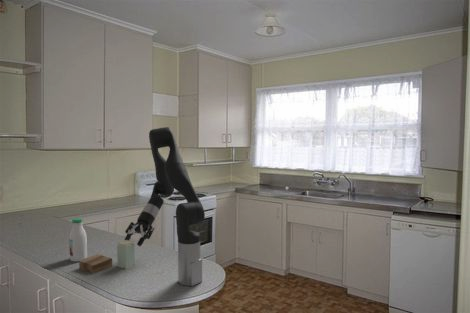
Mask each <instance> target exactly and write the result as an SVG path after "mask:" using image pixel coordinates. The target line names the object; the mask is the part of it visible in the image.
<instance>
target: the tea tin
mask: <svg viewBox="0 0 470 313" xmlns="http://www.w3.org/2000/svg"><path fill="white" fill-rule="evenodd" d="M135 250H136V249H135V241H133V240H120V241H119V242H117V246H116V255H117V260H116V261H117V267H119V268H122V269H124V270H125V269H129V268H131V267H133V266H135V264H136V258H135Z"/></svg>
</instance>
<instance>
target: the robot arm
mask: <svg viewBox="0 0 470 313" xmlns="http://www.w3.org/2000/svg"><path fill="white" fill-rule="evenodd" d="M148 139H149V140H148V141H149V144H150V151H151V154H152V155H151V156H152V158H153V162H154V168H155V178H156V182H155V183H154V184H153V188H152V192H151V195H150V198H149V200H148V202H146V205H145V206H144V207H143V209H142V211H141V212H140V213H139V216H138V218H137V221H136V222H133V221H131V222H130V223H129V225H128V226H127V228H126V229H125V231H124V233H125V234H126V235H125V237H124V240H129V241H131V238H132V236H134V235H137V234H138V235H139V234H140V235H141V237H140V238H139V240H138V241H137V243H136V245H137V246H138V247H141V246H142V245H143V244H144V242H145V240H149V239H151V237H152V234H153V232H154V231H155V228H154V227H153V223H154V222H155V220H156V218H157V217H158V215H159V213H160V210H161V209H162V206H163V204H164V202H165V201H164V198H162V197H161V196H165V197H172V196H173V194H174V192H175V190H176V191H177V192H178V193H179V194H181V196H182V197H184V199H185V200H186V202H182V203H179V204H177V206H176V209H175V223H176V235H177V270H178V272H177V273H178V274H177V276H178V278H177V279H178V280H177V281H178V284H180V285H181V286H187V287H189V286H190V287H194V286H196V285H198V284H199V283H202V282H203V259H202V258H201V234H200V233H199V232H197V231H194V230H190V229H189V228H190V227H189V226H191V225H192V226H193V225H198V224H201V223H203V222H204V221H205V219H206V218H205V215H206V214H205V209H204V206H203V204H202V202H201V199H200V198H199V196H198V195H197V192H196V191H195V188H194V186H193V184H192V181H191V179H190V177H189V176H190V175H189V173H188V171H187V170H188V169H187V168H186V166H185V164H184V162H183V158H182V157H181V154H180V151H179V148H178V145H177V142H176V138H175V135H174V133H173V130H172V129H171V127H168V126H167V127H166V126H165V127H159V128H158V127H157V128H152V129H150V131H149V132H148ZM166 147H168V148H169V153H168V157H167V158H166V159H165V158H164V156H162V155H161V153H160V151H159V149H162V148H166ZM159 195H161V196H159ZM124 240H123V241H124Z"/></svg>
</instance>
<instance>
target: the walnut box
mask: <svg viewBox="0 0 470 313" xmlns="http://www.w3.org/2000/svg"><path fill="white" fill-rule="evenodd" d="M78 262H79V264H78V265H79V269H80V270H82V271H85V272H87V273H91V274H97V273H98V272H100V271H103V270H105V269H108V268H110V267H112V266H113V258H112V257H109V256H106V255H105V256H104V255H102V254H99V253H98V254H94V255H92V256H90V257H87V258H86V259H83V260H80V261H78Z"/></svg>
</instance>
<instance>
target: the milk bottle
mask: <svg viewBox="0 0 470 313" xmlns="http://www.w3.org/2000/svg"><path fill="white" fill-rule="evenodd" d="M71 223H72V228H71V230H70V233H69V241H68V242H69V260H70V261H71V262H79V261H80V260H83V259H86V258H88V243H87V240H88V239H87V232H86V231H85V228H84V226H83V223H84V219H83V217H75V218H73V219H72V220H71Z"/></svg>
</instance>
